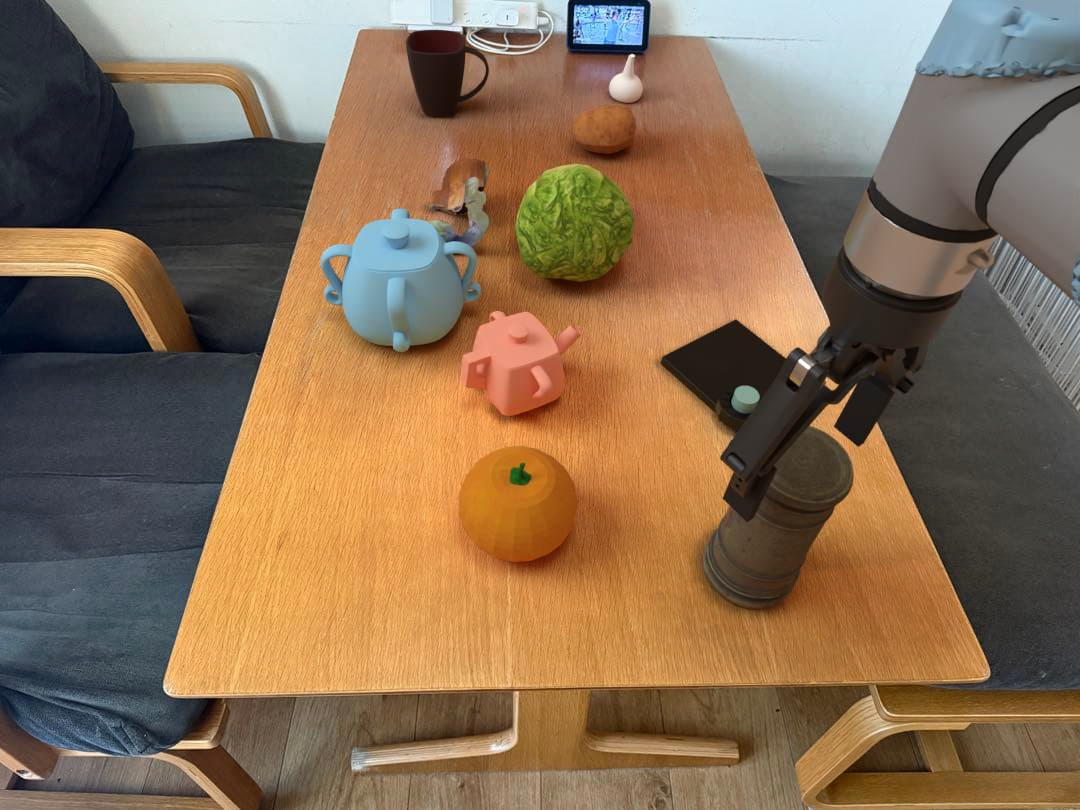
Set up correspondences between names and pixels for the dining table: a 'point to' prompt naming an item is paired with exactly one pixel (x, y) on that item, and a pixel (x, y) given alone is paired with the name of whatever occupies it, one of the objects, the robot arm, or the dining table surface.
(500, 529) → the fruit
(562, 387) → the teapot
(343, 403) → the dining table surface
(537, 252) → the lettuce
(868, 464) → the dining table surface
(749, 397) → the button
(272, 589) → the dining table surface
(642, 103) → the dining table surface
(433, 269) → the decorative pot
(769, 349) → the scale
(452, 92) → the mug
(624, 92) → the garlic bulb
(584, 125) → the potato
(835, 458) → the container
